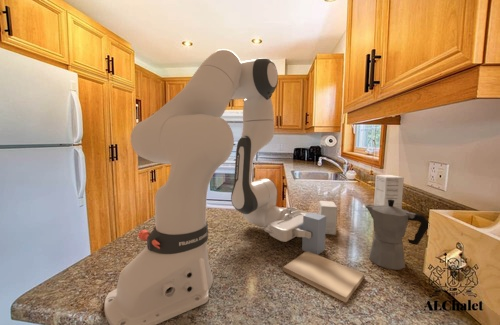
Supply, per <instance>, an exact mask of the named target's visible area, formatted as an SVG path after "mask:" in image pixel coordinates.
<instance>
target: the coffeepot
mask: <svg viewBox="0 0 500 325" xmlns="http://www.w3.org/2000/svg"><path fill="white" fill-rule="evenodd" d="M393 204H394V200H388V205H381V206H376V205H374V204H373V205H372V204H371V205H369V204H368V205H366V206H365V208H366V209H367V210H368V212H369V215H370V216H371V218H372V220H373V221H372V222H373V230H374V236H373V238H372V242H371V247H370V249H369V250H370V251H369V254H368V255H369V256H368V259H369V260H370V261H371V262H372V263H373V264H374V265H376V266H378V267H381V268H384V269H388V270H391V271H399V270H403V269H405V268H406V261H405V252H404V242H403V238H405V234H406V232H407V227H408V225H409V221H413V222H415V221H416V222H419V223H420V225H419V227H418V230H417V232H416V233H415V234H414V239H409V238H408V239H407V241H408V243H409V244H411V245H414V246H415V245H416V246H418V245H419V244H420V242H421V241H422V239H423V237H424V236H425V234H426V232H428V229H429V228H428V223H429V224H430V222H429V221H428V219H427V218H426V217H425V216H424V214H421V213H420V214H419V213H414V212H410V211H409V210H406V209H403V208H402V209H400V208H397V207H394V206H393Z"/></svg>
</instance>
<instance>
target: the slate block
mask: <svg viewBox="0 0 500 325" xmlns="http://www.w3.org/2000/svg"><path fill="white" fill-rule="evenodd" d="M303 230H305V231H307V230H309V231H312V232H313V237H311V238H306V237H301V238H302V241H301V243H302V244H301V246H302V247H301V251H304V252H306V251H309V252H311V253H314V254H316V255H319V256H320V255H321V253H323V252H324V251H325V247H326V234H325V230H326V216H324V215H320V214H319V213H315V212H309V214H306V215H304V216H303Z"/></svg>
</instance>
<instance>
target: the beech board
mask: <svg viewBox="0 0 500 325" xmlns="http://www.w3.org/2000/svg"><path fill="white" fill-rule="evenodd" d="M282 271H283V272H284V273H286V274H288V275H290V276H292V277H294V278H295V279H297V280H300V281H303V282H304V283H306V284H308V285H310V286H311V287H314V288H316V289H318V290H320V291H322V292H324V293H325V294H327V295H329V296H331V297H334V298H336V299H337V300H340V301H342V302H343V303H347V302H348V300H350V298H351V296H352V295H353V294H354V293H355V291H356V290H357V288H358V287H359V286H360V284H361V283H362V282H363V280H364V279H365V273H364V272H363V271H359V270H356V269H355V268H352V267H349V266H347V265H344V264H341V263H339V262H336V261H334V260H331V259H328V258H326V257H324V256H322V255H320V254H319V255H316V254H314V253H311V252H309V251H304V252H303V253H301V254H300V255H298V256H297V257H296V258H294V259H292V260H291V261H290V262H288V263H286V265H284V266H283V270H282Z"/></svg>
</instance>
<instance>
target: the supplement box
mask: <svg viewBox="0 0 500 325" xmlns="http://www.w3.org/2000/svg"><path fill="white" fill-rule="evenodd" d="M404 179H405V178H404V176H400V175H399V176H398V175H395V174H375V179H374V180H375V184H374V197H373V198H374V199H373V205H376V206H381V205H388V200H394V204H393V206H394V207H397V208H400V209H403V208H402V207H403V205H402V204H403V194H404Z"/></svg>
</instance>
